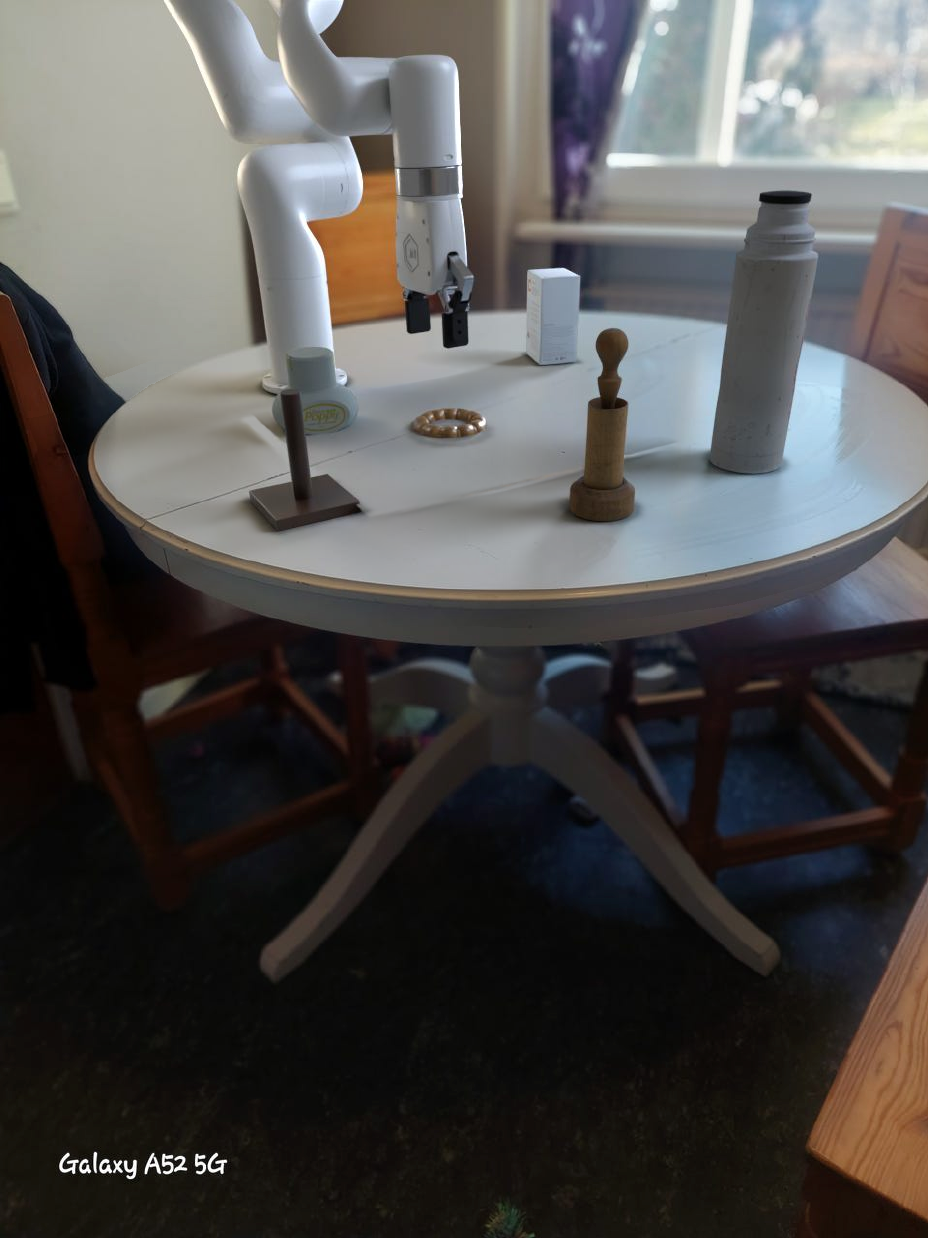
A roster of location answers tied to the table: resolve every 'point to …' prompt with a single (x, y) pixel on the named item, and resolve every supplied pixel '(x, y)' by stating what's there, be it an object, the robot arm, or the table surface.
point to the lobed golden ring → (426, 429)
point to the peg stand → (301, 480)
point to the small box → (552, 315)
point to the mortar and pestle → (605, 442)
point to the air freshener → (318, 392)
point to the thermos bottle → (765, 335)
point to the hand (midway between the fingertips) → (436, 338)
